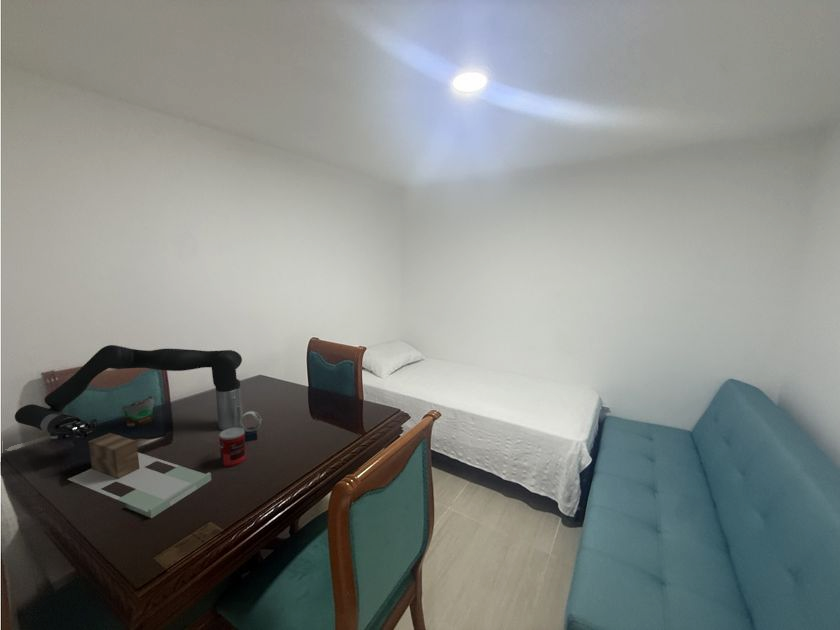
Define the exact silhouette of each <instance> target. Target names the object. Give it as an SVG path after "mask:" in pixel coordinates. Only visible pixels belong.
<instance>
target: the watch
mask: <svg viewBox="0 0 840 630" xmlns="http://www.w3.org/2000/svg"><path fill="white" fill-rule="evenodd" d="M248 415H251V416H252V418H253V421H255V422H256V423H258V424H257V425H256V426H253V427H252V426H251V427H247V426H245V425H244V424H243V423H244V422H243V423H242V421H241V420H242V418H243V419H244V418H245V417H246V416H248ZM261 424H262V417H261V416H260V414H259V413H258V412H257V411H254V410H250V411H246V412H243V415H242V416H241V418H240V426H241V427H240V428H242V429H244V434H245V443H248V442H252V441H257V440H258V429H259V428H260V426H261Z"/></svg>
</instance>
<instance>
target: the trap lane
mask: <svg viewBox="0 0 840 630" xmlns="http://www.w3.org/2000/svg"><path fill="white" fill-rule="evenodd" d="M138 459H139V468H140V469H138V470H136V471H134V472H132V473H130V474H128V475H126V476H124V477H122V478H120V479H117V478H114V477H112V476H109V475H106V474H104V473H101V472H98V471H96V470H93V469H92V468H89V469H87V470H86V471H83V472H81V473H79V474H76V475H74V476H72V477H69V478H67V480H68V481H70V482H73V483H75V484H77V485H79V486H80V485H81V486H82V487H85V488H87V489H90V490H92V491H95V492H97V493H100V494H102V495H104V496H107V497H110V498H112V499H114V500H117V501H119V502H121V503H125V504H123V505H122V507H124V508H126V509H128V510H130V511H134V512H135V513H138V514H140V515H143V516H145V517H148V518H150V519H152V518H154V517H156V516H157V515H158V514H161V513H162V512H164V511H165V510H167V509H168V508H170V507H171V506H173V505H175V504H176V503H177V502H180V501H181V500H182V499H185V497H187V496H189V495H191V494H192V493H193V492H195V491H197V490H198V489H200V488H202V487H203V486H204V485H206V484H208V483H210V482H211V481H212V473H211V472H207V473H203V472H201V471H197V470H194V469H191V468H188V467H186V466H185V467H184V466H182V465H179V464H175V463H172V462H169V461H166V460H164V459H160V458H157V457H153V456H151V455H147V454H145V453H141V452H138ZM156 462H159V463H162V464H165V465H168V466H170V467H174V468H172V469H171V470H169V471H167V472H165V473H162V472H159V471H156V470H154V469H150V468H148V467H147V466H150V465H151V464H154V463H156ZM115 482H116V483H119V484H122V485H124V486H127V487H130V488H132V489H134V490H131V491H130V492H128V493H126V494H124V495H122V496H119V495H116V494H114V493H111V492H109V491H106V490H104V489H103V488H105V487H107V486H109V485H112V484H113V483H115Z"/></svg>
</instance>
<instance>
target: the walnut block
mask: <svg viewBox="0 0 840 630" xmlns="http://www.w3.org/2000/svg"><path fill="white" fill-rule="evenodd" d="M88 448H89V449H88V450H89V456H90V457H89V458H90V464H91V469H93V470H96V471H98V472H101V473H104V474H106V475H109V476H112V477H114V478H117V479H120V478H122V477H124V476H126V475H128V474H130V473H132V472H134V471H136V470H138V469H140V468H139V459H138V453H139V451H138V442H137V440H135V439H131V438H128V437H125V436H122V435H119V434H115V433H111V432H108V433H107V434H104V435H101V436H99V437H96V438H93V439H90V440H89V441H88Z"/></svg>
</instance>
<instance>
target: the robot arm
mask: <svg viewBox="0 0 840 630" xmlns="http://www.w3.org/2000/svg"><path fill="white" fill-rule="evenodd" d="M242 362H243V358H242V356H241V354H240V353H239V352H238V351H235V350H232V349H225V350H199V349H198V350H197V349H183V348H157V349H153V350H147V349H146V350H143V349H135V348H130V347H125V346H121V345H117V344H116V345H114V344H110V345H105V346H103V347H102V348H100V349H99V350H97V352H96V353H95V354H94V355H92V356H91V358H90V359H89V360H88V361H87V362H86V363H84V364H83V366H82V367H80V368H79V369H78V371H76V372H75V373H74V374H73V375H71V377H69V378H68V379H66V381H64V382H63V383H62V384H61V385H59V386H58V387H56V388H55V389H54V390H52V391H51V392H50V393H48V394H47V395H46V396H45V397H44V399H43V400H44V403H45V404H46V405H47V406H49V408H47V407H45V406H41V405H38V404H32V403H31V404H26V405H23V406H21V407H20V408H18V410H16V411H15V413H14V420H15V421H16V422H17V423H18V424H22V425H25V426H30V427H33V428H35V429H38V430H40V431H41V432H42V431H43V432H44V433H46V434H48V435H49V437H50V441H51V442H55V441H66V440H73V439H75V438H83V439H88V438H92V437H93V436H94V431H95V429H96V428H97V427H98V420H97V419H96V418H93V419H92V420H89V421H86V420H81V419H80V418H79V417H77V416H74V415H72V414H69V413H64V412H62V411H64V409H65V408H66V407H67V406H68V405H70V404H71V403H72V402H73V401H75V400H76V399H77V398H78V397H80V396H81V395H82V394H83V393H84V392H85V391H86V390H87V388H88V386H89V385H90V383H91V382H92V381H93V380H94V378H97V376H98V375H100V374H101V373H103V372H105V371H106V370H108V369H112V370H126V369H150V370H156V371H166V372H170V371H171V372H173V371H174V372H181V371H182V372H183V371H185V372H186V371H192V370H197V369H203V368H211V373H212V374H211V375H212V376H211V377H212V382H213V385H214V386H215V397H216V399H215V400H216V413H217V428H218V429H219V430H222V431H224V430H226V429H230V428H241V426H240V418H241V416H242V415H243V414H244V411H243V401H242V395H241V381H240V380H239V379H238V377H237V369H238V368H239V367H240V366H241V365H242ZM241 421H242V423H244V417H243V418H242V420H241Z"/></svg>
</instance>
